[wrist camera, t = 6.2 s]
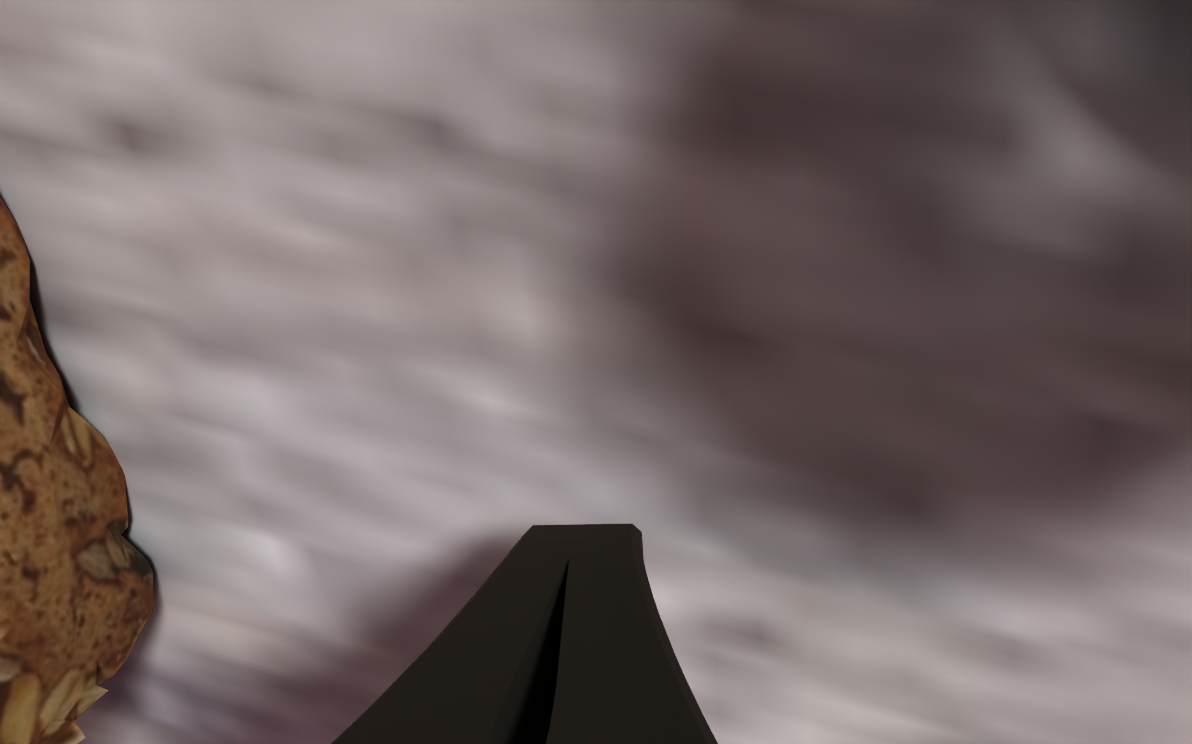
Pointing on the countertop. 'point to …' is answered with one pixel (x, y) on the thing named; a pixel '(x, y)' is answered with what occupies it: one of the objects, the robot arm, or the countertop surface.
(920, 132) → the countertop surface
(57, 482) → the bread
